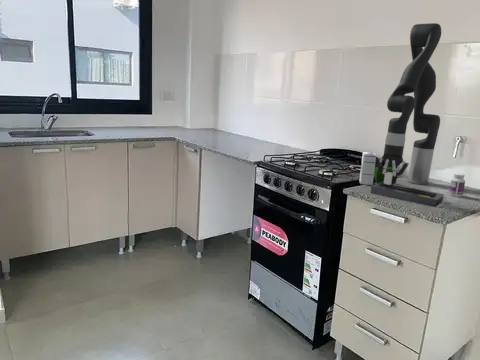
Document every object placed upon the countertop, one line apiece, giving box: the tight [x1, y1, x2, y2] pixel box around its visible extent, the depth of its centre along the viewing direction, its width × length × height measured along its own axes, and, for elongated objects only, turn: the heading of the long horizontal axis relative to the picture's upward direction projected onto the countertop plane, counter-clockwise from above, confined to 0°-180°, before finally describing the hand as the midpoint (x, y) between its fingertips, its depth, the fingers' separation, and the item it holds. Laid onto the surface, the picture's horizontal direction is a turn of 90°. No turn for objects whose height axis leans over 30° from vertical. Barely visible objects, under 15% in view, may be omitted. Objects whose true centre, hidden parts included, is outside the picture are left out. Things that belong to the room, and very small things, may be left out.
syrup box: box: [358, 151, 377, 186], centre depth 182 cm, size 6×6×14 cm
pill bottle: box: [448, 172, 466, 198], centre depth 171 cm, size 5×5×10 cm
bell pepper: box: [374, 164, 393, 184], centre depth 186 cm, size 8×8×10 cm
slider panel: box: [370, 182, 445, 208], centre depth 164 cm, size 12×26×4 cm, turn 51°
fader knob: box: [384, 172, 393, 186], centre depth 168 cm, size 4×3×5 cm
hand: (388, 183), depth 168 cm, fingers closed on fader knob, 3 cm apart
